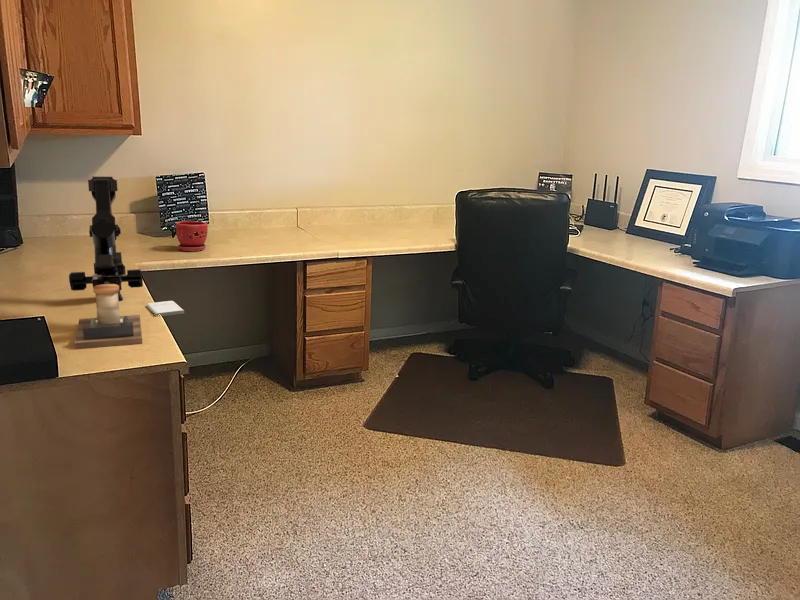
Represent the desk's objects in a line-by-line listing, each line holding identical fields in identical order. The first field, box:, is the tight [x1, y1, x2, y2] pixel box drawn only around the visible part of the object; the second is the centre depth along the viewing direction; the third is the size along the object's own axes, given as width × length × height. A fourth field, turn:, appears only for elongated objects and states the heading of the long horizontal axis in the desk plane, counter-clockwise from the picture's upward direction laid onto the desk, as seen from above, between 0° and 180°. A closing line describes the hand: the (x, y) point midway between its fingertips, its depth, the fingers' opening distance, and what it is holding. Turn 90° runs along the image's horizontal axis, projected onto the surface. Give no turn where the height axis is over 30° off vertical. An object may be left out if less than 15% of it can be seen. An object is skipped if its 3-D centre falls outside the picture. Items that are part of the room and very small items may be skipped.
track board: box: [74, 314, 143, 350], centre depth 187 cm, size 22×16×2 cm
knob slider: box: [92, 284, 123, 325], centre depth 185 cm, size 7×7×11 cm
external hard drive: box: [146, 300, 185, 317], centre depth 211 cm, size 2×8×12 cm
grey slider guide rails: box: [83, 315, 134, 340], centre depth 186 cm, size 17×12×3 cm
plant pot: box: [175, 220, 209, 252], centre depth 299 cm, size 13×13×12 cm
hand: (108, 305), depth 188 cm, fingers closed, pressing on knob slider
